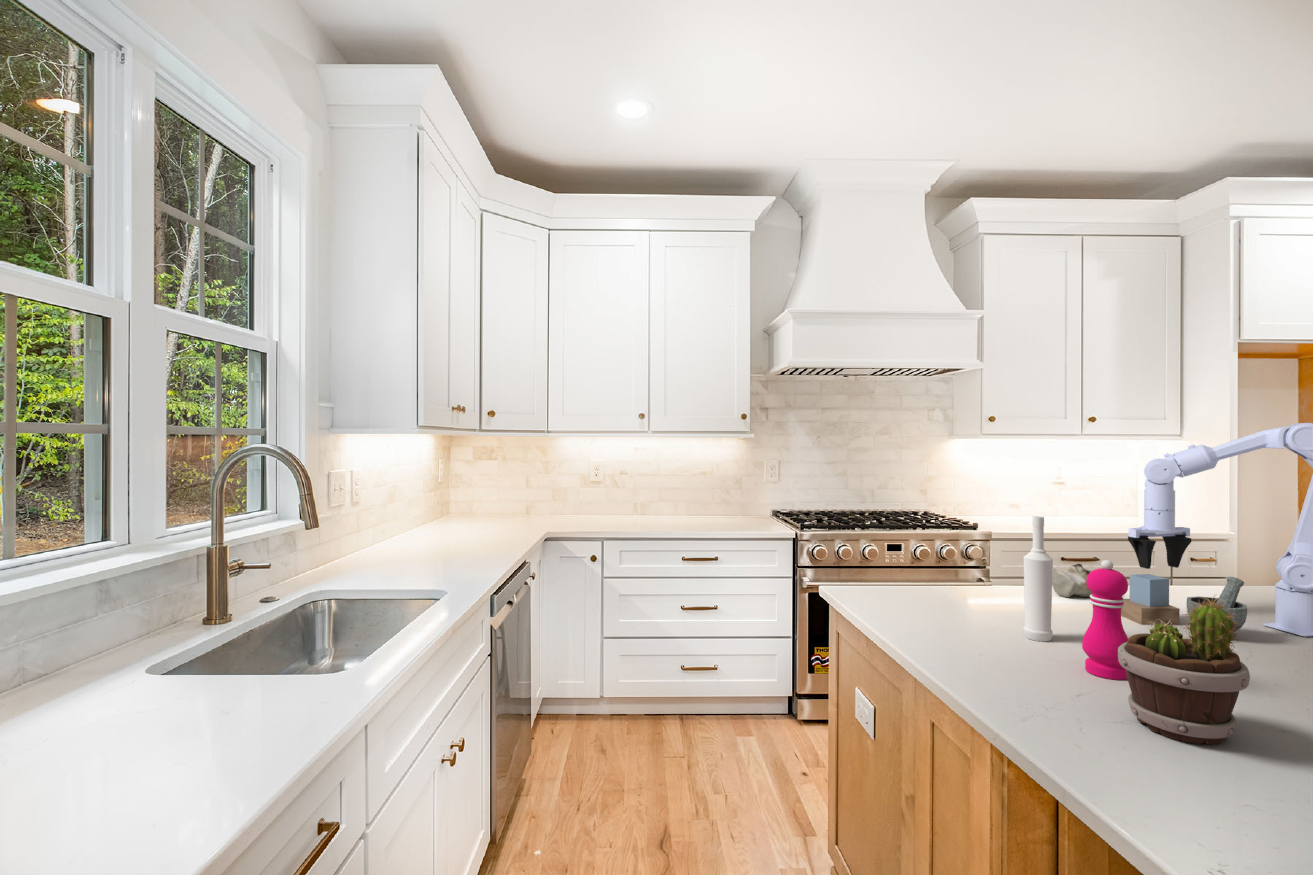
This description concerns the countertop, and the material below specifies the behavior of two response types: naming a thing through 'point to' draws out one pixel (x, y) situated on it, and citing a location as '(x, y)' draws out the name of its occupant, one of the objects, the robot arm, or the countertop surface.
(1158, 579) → the slate block
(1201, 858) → the countertop surface
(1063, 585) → the grey rock
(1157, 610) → the walnut plinth
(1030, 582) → the bottle
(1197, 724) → the flowerpot
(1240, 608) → the mortar and pestle
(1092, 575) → the pepper mill
